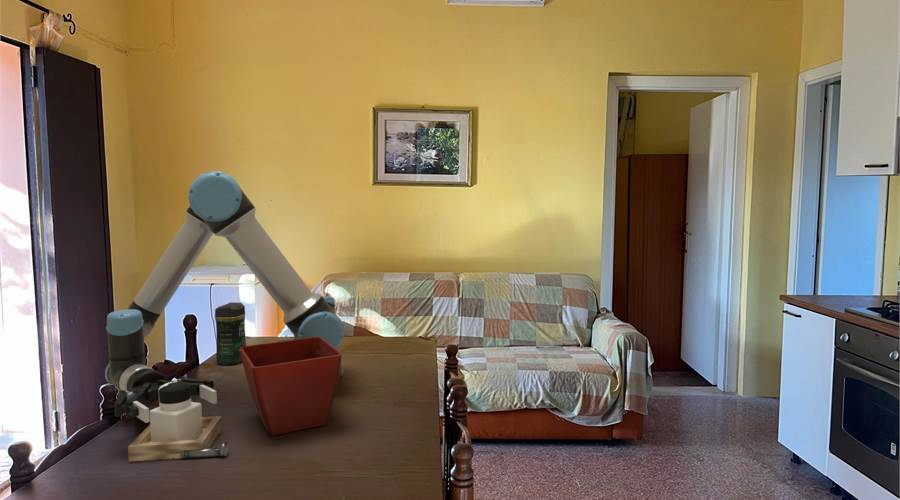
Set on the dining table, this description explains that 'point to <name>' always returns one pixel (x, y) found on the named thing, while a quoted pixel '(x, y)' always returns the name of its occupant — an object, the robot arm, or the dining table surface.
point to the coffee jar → (230, 332)
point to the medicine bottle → (176, 414)
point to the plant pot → (292, 382)
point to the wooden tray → (173, 443)
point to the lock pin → (206, 452)
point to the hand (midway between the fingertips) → (182, 406)
